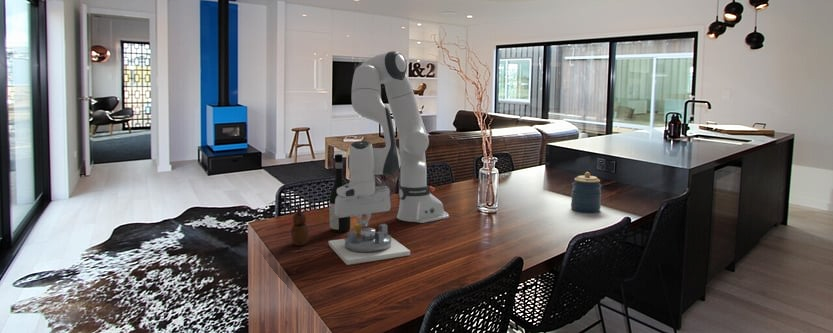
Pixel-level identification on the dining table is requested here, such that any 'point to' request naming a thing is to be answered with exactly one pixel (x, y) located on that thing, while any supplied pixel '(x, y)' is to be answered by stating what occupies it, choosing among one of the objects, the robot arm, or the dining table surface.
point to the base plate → (357, 257)
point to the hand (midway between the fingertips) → (363, 226)
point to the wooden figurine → (299, 228)
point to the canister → (586, 194)
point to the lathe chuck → (367, 239)
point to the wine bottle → (335, 222)
